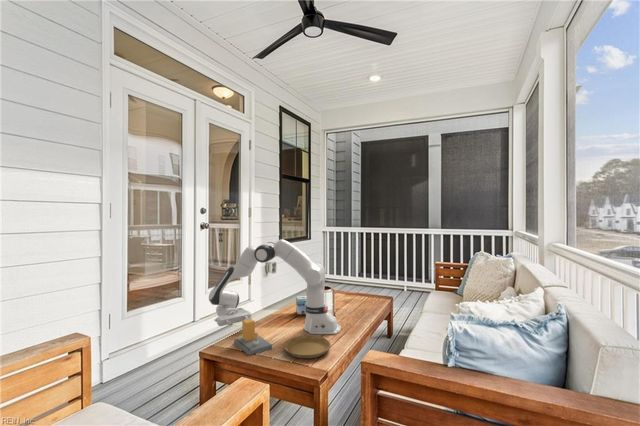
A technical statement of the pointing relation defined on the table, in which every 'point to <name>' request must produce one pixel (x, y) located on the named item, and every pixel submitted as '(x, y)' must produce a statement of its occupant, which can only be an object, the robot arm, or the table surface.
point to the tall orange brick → (248, 329)
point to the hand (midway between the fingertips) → (239, 322)
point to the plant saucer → (307, 346)
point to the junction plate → (253, 345)
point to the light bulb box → (300, 304)
